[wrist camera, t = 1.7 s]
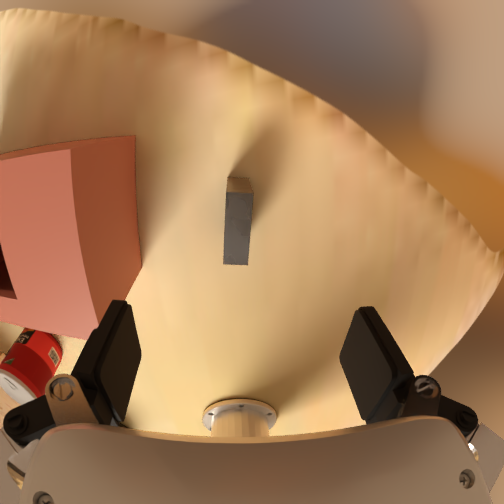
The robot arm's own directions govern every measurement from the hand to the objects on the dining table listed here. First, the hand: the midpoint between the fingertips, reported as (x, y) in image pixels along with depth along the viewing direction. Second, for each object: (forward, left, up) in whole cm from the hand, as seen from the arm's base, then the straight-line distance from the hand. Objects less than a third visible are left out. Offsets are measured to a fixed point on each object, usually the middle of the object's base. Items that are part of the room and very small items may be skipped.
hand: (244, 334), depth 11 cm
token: (0, 0, -18) cm, 18 cm away
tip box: (0, +20, -18) cm, 27 cm away
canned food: (-22, +30, -18) cm, 42 cm away
